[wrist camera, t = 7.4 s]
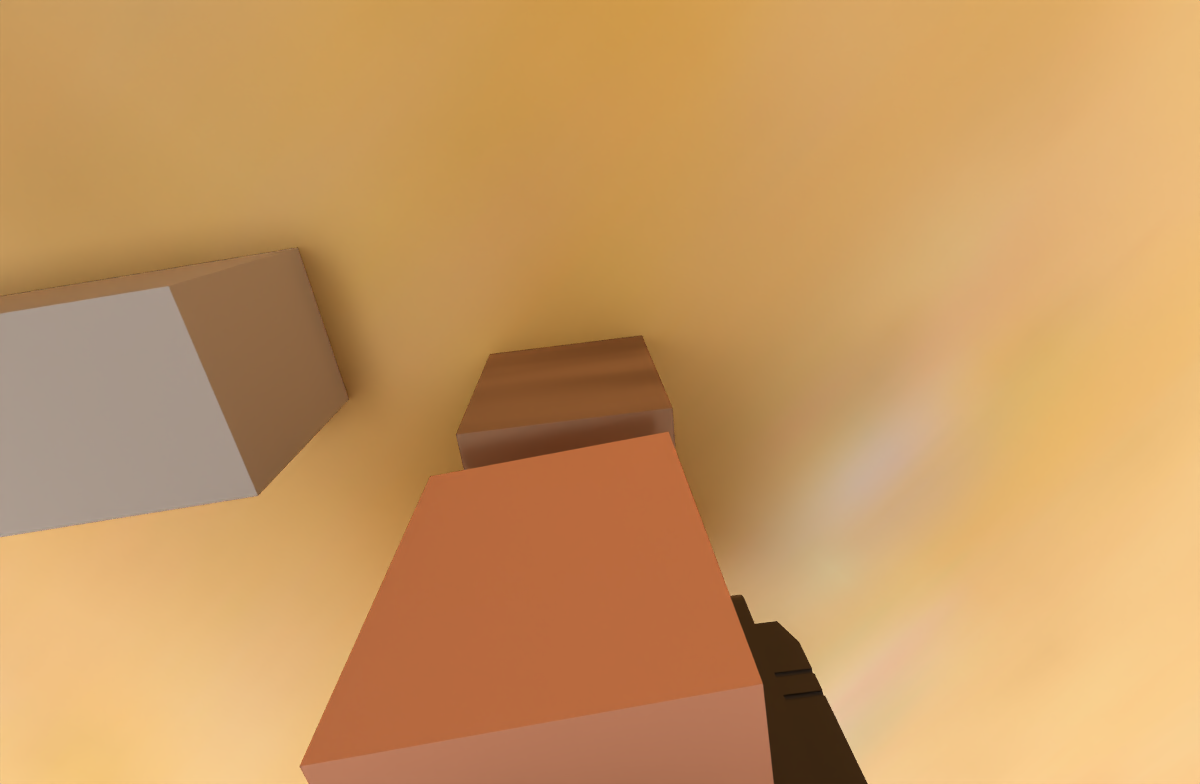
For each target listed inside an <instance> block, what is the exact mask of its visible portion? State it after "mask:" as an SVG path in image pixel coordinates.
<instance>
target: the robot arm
mask: <svg viewBox="0 0 1200 784" xmlns="http://www.w3.org/2000/svg"><path fill="white" fill-rule="evenodd" d="M730 597H731V600H732V603H733V605H734V608H735V611H736V613H737V616H738V619H739V621H740V624H741V627H742V629H743V632H744V635H745V637H746V640H747V643H748V645H749V648H750V651H751V653H752V656H753V659H754V661H755V664H756V667H757V669H758V672H759V675H760V677H761V680H762V683H763V689H764V698H765V707H766V717H767V726H768V735H769V744H770V753H771V763H772V772H773V781H774V784H868V783H867V782H866V780H865V778H864V775H863V773H862V771H861V769H860V767H859V765H858V763H857V761H856V759H855V757H854V755H853V753H852V751H851V749H850V746H849V744H848V742H847V740H846V738H845V736H844V734H843V732H842V730H841V728H840V726H839V724H838V722H837V720H836V717H835V715H834V713H833V711H832V709H831V707H830V705H829V703H828V701H827V699H826V697H825V696H824V695H823V692H822V688H821V686H820V684H819V682H818V680H817V678H816V676H815V674H813V672H812V668H811V666H810V664H809V662H808V659H807V657H806V655H805V653H804V651H803V649H802V647H801V645H800V643H799V642H798V641H797V640H796V639H795V638H794V637H793V636H792V635H791V634H790V633H789V632H788V631H787V630H786V629H785V628H783V627H782V626H781V625H780V624H779V623H778V622H777V621H775V622H767V623H759V624H754V621H753V619H752V616H751V614H750V611H749V609H748V607H747V604H746V602H745V599H744V598H743V596H742V595H735V596H730Z"/></svg>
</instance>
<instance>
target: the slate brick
mask: <svg viewBox="0 0 1200 784" xmlns="http://www.w3.org/2000/svg"><path fill="white" fill-rule="evenodd" d="M348 400H349V398H348V395H347V392H346V389H345V386H344V383H343V380H342V377H341V374H340V371H339V368H338V365H337V362H336V359H335V357H334V354H333V351H332V348H331V345H330V342H329V339H328V336H327V333H326V330H325V327H324V324H323V321H322V318H321V315H320V312H319V309H318V306H317V303H316V300H315V297H314V294H313V291H312V288H311V285H310V282H309V279H308V276H307V273H306V270H305V267H304V264H303V262H302V259H301V256H300V253H299V250H298V247H297V248H291V249H285V250H279V251H273V252H267V253H261V254H255V255H249V256H243V257H236V258H230V259H224V260H218V261H212V262H206V263H200V264H194V265H188V266H182V267H175V268H169V269H163V270H157V271H151V272H145V273H139V274H133V275H127V276H121V277H114V278H108V279H102V280H96V281H90V282H84V283H78V284H72V285H66V286H60V287H53V288H47V289H41V290H35V291H29V292H23V293H17V294H11V295H5V296H0V537H4V536H10V535H17V534H23V533H29V532H35V531H42V530H48V529H54V528H60V527H67V526H73V525H79V524H85V523H91V522H98V521H104V520H110V519H116V518H123V517H129V516H135V515H141V514H148V513H154V512H160V511H166V510H173V509H179V508H185V507H191V506H197V505H204V504H210V503H216V502H222V501H229V500H235V499H241V498H247V497H254V496H258V495H259V494H260V493H261V492H262V491H263V490H264V489H265V488H266V487H267V486H268V485H269V484H270V482H271V481H272V480H273V479H274V478H275V477H276V476H277V475H278V474H279V473H280V472H281V471H282V470H283V469H284V468H285V467H286V466H287V464H288V463H289V462H290V461H291V460H292V459H293V458H294V457H295V456H296V455H297V454H298V453H299V452H300V451H301V450H302V449H303V448H304V446H305V445H306V444H307V443H308V442H309V441H310V440H311V439H312V438H313V437H314V436H315V435H316V434H317V433H318V432H319V431H320V430H321V428H322V427H323V426H324V425H325V424H326V423H327V422H328V421H329V420H330V419H331V418H332V417H333V416H334V415H335V414H336V413H337V411H338V410H339V409H340V408H341V407H342V406H343V405H344V404H345V403H346V402H347V401H348Z"/></svg>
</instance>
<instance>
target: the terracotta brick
mask: <svg viewBox="0 0 1200 784" xmlns="http://www.w3.org/2000/svg"><path fill="white" fill-rule="evenodd" d="M300 768H301V770H302V772H303V774H304V776H305V777H306V779H307V781H308V783H309V784H774V781H773V772H772V763H771V753H770V744H769V735H768V726H767V717H766V707H765V698H764V689H763V683H762V680H761V677H760V675H759V672H758V669H757V667H756V664H755V661H754V659H753V656H752V653H751V651H750V648H749V645H748V643H747V640H746V637H745V635H744V632H743V629H742V627H741V624H740V621H739V619H738V616H737V613H736V611H735V608H734V605H733V603H732V600H731V597H730V595H729V592H728V589H727V587H726V584H725V581H724V578H723V576H722V573H721V570H720V568H719V565H718V562H717V560H716V557H715V554H714V552H713V549H712V546H711V544H710V541H709V538H708V536H707V533H706V530H705V528H704V525H703V522H702V520H701V517H700V514H699V512H698V509H697V506H696V504H695V501H694V498H693V496H692V493H691V490H690V488H689V485H688V482H687V480H686V477H685V474H684V472H683V469H682V466H681V464H680V461H679V458H678V456H677V453H676V450H675V448H674V445H673V442H672V440H671V437H670V434H669V432H664V433H658V434H653V435H648V436H642V437H637V438H632V439H627V440H621V441H616V442H611V443H605V444H600V445H595V446H589V447H584V448H579V449H573V450H568V451H563V452H557V453H552V454H547V455H541V456H536V457H531V458H525V459H520V460H515V461H509V462H504V463H499V464H493V465H488V466H483V467H477V468H472V469H467V470H461V471H456V472H451V473H446V474H440V475H435V476H430V478H429V480H428V482H427V484H426V486H425V489H424V491H423V493H422V495H421V498H420V500H419V502H418V504H417V506H416V509H415V511H414V513H413V515H412V518H411V520H410V522H409V524H408V526H407V529H406V531H405V533H404V535H403V538H402V540H401V542H400V544H399V546H398V549H397V551H396V553H395V555H394V558H393V560H392V562H391V564H390V566H389V569H388V571H387V573H386V575H385V578H384V580H383V582H382V584H381V587H380V589H379V591H378V593H377V595H376V598H375V600H374V602H373V604H372V607H371V609H370V611H369V613H368V615H367V618H366V620H365V622H364V624H363V627H362V629H361V631H360V633H359V635H358V638H357V640H356V642H355V644H354V647H353V649H352V651H351V653H350V655H349V658H348V660H347V662H346V664H345V667H344V669H343V671H342V673H341V675H340V678H339V680H338V682H337V684H336V687H335V689H334V691H333V693H332V695H331V698H330V700H329V702H328V704H327V707H326V709H325V711H324V713H323V715H322V718H321V720H320V722H319V724H318V727H317V729H316V731H315V733H314V735H313V738H312V740H311V742H310V744H309V747H308V749H307V751H306V753H305V755H304V758H303V760H302V762H301V764H300Z"/></svg>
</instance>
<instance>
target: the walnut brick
mask: <svg viewBox="0 0 1200 784" xmlns="http://www.w3.org/2000/svg"><path fill="white" fill-rule="evenodd" d="M664 432H669V434H670V437H671V440H672V442H673V445H674V448H675V437H674V423H673V410H672V406H671V403H670V401H669V399H668V396H667V394H666V392H665V389H664V387H663V384H662V382H661V380H660V377H659V375H658V373H657V370H656V368H655V365H654V363H653V361H652V358H651V356H650V354H649V351H648V349H647V346H646V344H645V342H644V339H643V337H642V336H634V337H626V338H617V339H609V340H601V341H593V342H585V343H577V344H569V345H561V346H553V347H544V348H536V349H528V350H520V351H512V352H504V353H496V354H490V355H489V358H488V360H487V363H486V365H485V367H484V370H483V372H482V374H481V377H480V379H479V381H478V384H477V386H476V389H475V391H474V393H473V396H472V398H471V400H470V403H469V405H468V407H467V410H466V412H465V415H464V417H463V419H462V422H461V424H460V426H459V429H458V431H457V433H456V436H457V441H458V445H459V450H460V454H461V459H462V463H463V467H464V470H467V469H472V468H477V467H483V466H488V465H493V464H499V463H504V462H509V461H515V460H520V459H525V458H531V457H536V456H541V455H547V454H552V453H557V452H563V451H568V450H573V449H579V448H584V447H589V446H595V445H600V444H605V443H611V442H616V441H621V440H627V439H632V438H637V437H642V436H648V435H653V434H658V433H664Z"/></svg>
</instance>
